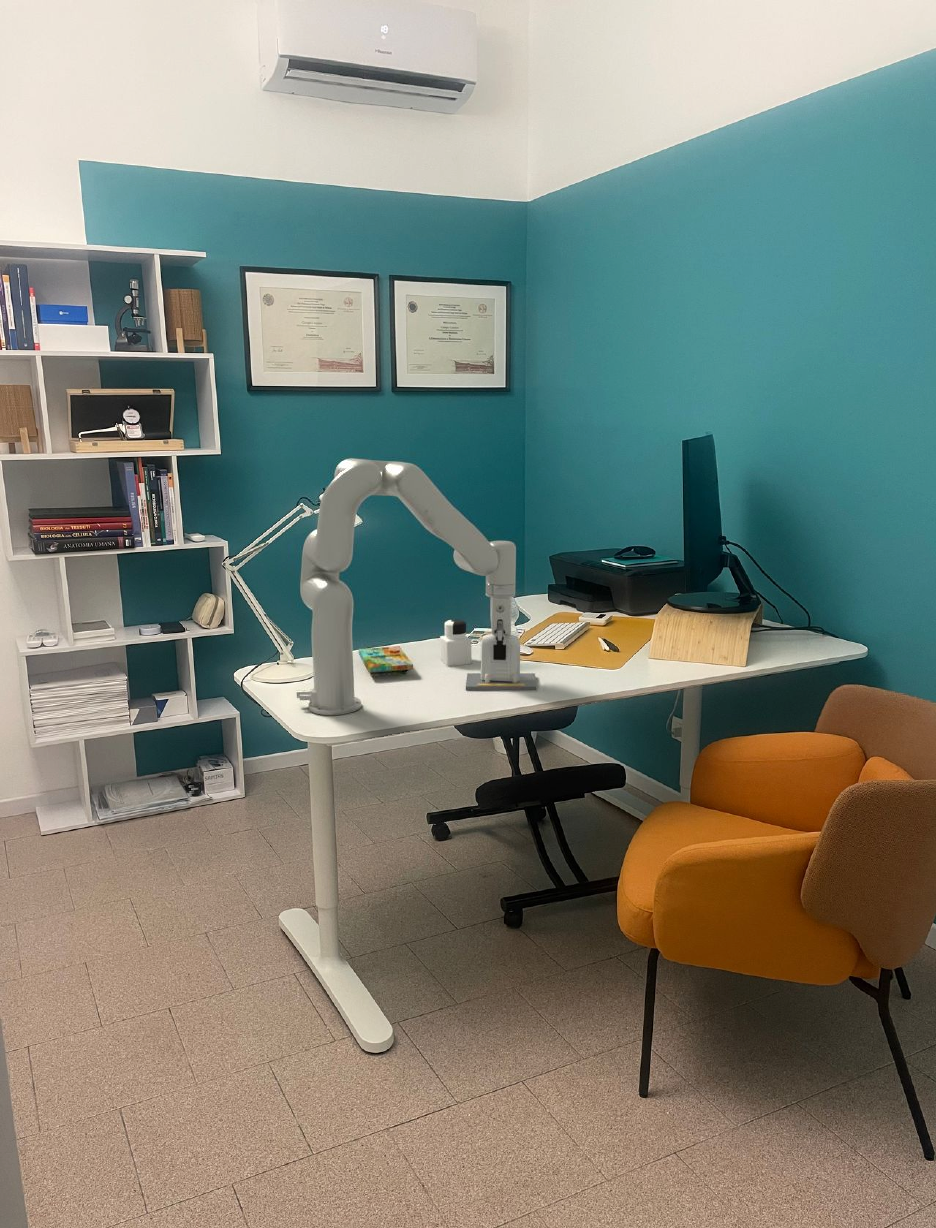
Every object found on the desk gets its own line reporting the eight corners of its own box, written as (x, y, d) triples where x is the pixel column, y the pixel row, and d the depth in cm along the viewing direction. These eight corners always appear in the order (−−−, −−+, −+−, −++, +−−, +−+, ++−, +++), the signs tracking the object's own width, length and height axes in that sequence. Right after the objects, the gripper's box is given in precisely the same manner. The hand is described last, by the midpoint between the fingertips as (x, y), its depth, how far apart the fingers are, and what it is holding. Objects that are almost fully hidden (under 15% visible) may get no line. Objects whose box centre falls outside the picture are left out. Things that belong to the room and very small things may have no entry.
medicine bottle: (463, 657, 270) (463, 617, 267) (471, 664, 263) (471, 622, 260) (440, 660, 267) (439, 619, 265) (447, 666, 261) (446, 624, 258)
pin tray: (465, 690, 239) (465, 677, 238) (467, 676, 251) (467, 664, 250) (536, 690, 238) (536, 677, 238) (534, 676, 250) (535, 664, 249)
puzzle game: (399, 643, 269) (413, 661, 250) (399, 659, 270) (413, 678, 251) (358, 646, 266) (369, 664, 247) (358, 662, 267) (369, 681, 248)
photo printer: (521, 678, 246) (521, 632, 243) (519, 683, 241) (519, 636, 239) (482, 676, 247) (481, 631, 245) (479, 681, 243) (479, 635, 240)
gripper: (515, 596, 231) (514, 663, 234) (514, 583, 247) (513, 646, 251) (485, 596, 231) (484, 663, 234) (486, 583, 248) (485, 646, 251)
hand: (499, 654), depth 243 cm, fingers open, 9 cm apart
